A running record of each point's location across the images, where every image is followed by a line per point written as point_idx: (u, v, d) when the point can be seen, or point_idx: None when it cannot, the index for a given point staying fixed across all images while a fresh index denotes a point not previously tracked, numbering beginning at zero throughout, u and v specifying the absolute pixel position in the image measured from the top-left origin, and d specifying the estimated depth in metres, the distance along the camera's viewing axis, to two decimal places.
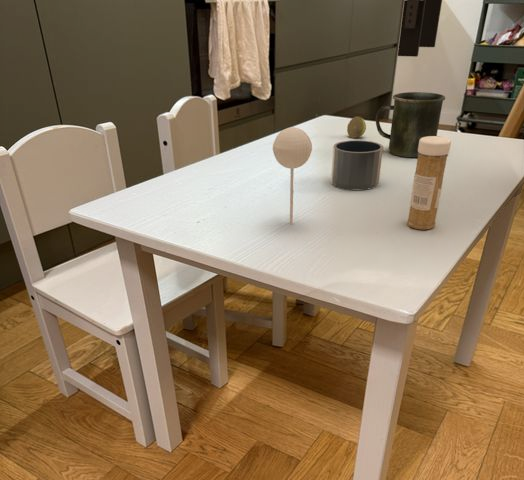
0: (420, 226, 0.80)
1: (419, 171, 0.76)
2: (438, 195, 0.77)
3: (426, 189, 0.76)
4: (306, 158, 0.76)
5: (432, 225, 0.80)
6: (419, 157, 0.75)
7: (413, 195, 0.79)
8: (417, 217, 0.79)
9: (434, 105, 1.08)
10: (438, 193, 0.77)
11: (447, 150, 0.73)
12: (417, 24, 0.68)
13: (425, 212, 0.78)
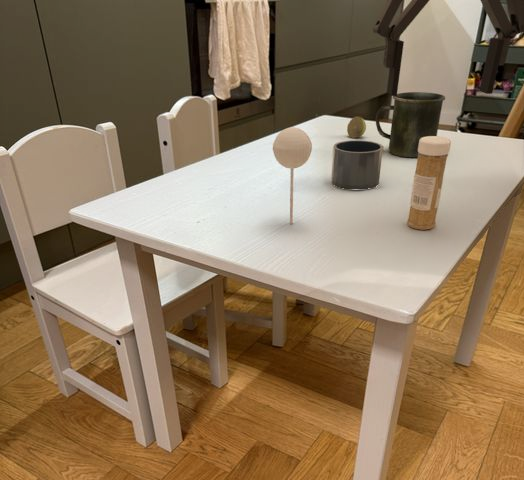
0: (420, 226, 0.80)
1: (419, 171, 0.76)
2: (438, 195, 0.77)
3: (426, 189, 0.76)
4: (306, 158, 0.76)
5: (432, 225, 0.80)
6: (419, 157, 0.75)
7: (413, 195, 0.79)
8: (417, 217, 0.79)
9: (434, 105, 1.08)
10: (438, 193, 0.77)
11: (447, 150, 0.73)
12: (394, 64, 0.68)
13: (425, 212, 0.78)
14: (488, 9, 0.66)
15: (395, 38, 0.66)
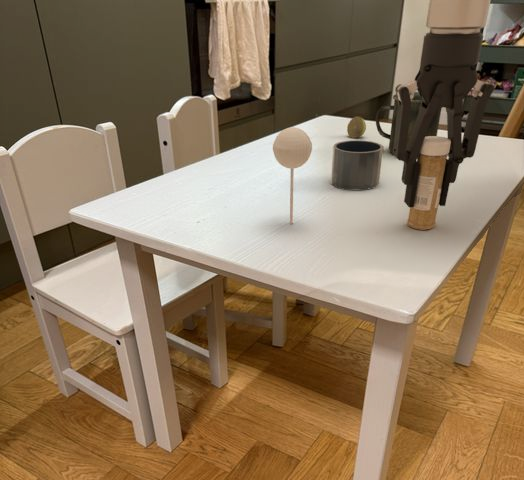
0: (420, 226, 0.80)
1: (419, 171, 0.76)
2: (438, 195, 0.77)
3: (426, 189, 0.76)
4: (306, 158, 0.76)
5: (432, 225, 0.80)
6: (419, 157, 0.75)
7: None
8: (417, 217, 0.79)
9: None
10: (438, 193, 0.77)
11: (447, 150, 0.73)
12: (411, 182, 0.77)
13: (425, 212, 0.78)
14: (450, 130, 0.73)
15: (414, 161, 0.75)
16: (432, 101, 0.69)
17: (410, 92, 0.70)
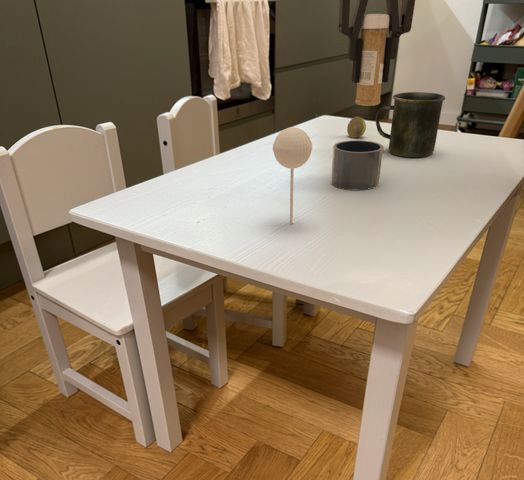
0: (366, 102, 0.88)
1: (363, 47, 0.84)
2: (380, 70, 0.85)
3: (369, 63, 0.84)
4: (306, 158, 0.76)
5: (377, 101, 0.88)
6: (362, 33, 0.83)
7: None
8: (363, 93, 0.87)
9: (434, 105, 1.08)
10: (380, 68, 0.85)
11: (386, 23, 0.81)
12: (356, 57, 0.85)
13: (369, 87, 0.86)
14: (388, 5, 0.81)
15: (357, 35, 0.83)
16: None
17: None
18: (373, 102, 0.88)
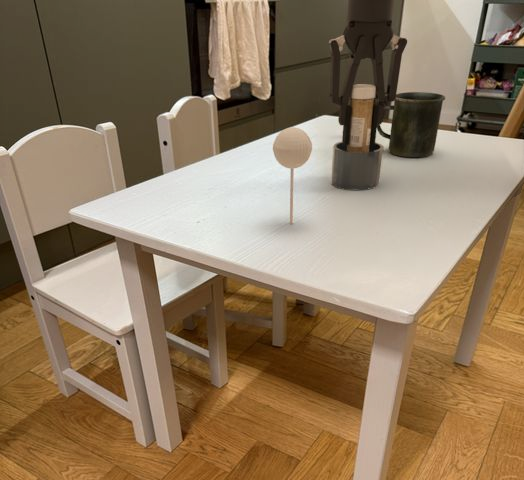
0: None
1: (352, 113, 0.92)
2: (368, 134, 0.93)
3: (357, 128, 0.92)
4: (306, 158, 0.76)
5: None
6: (351, 101, 0.91)
7: None
8: None
9: (434, 105, 1.08)
10: (368, 132, 0.93)
11: (372, 94, 0.89)
12: (345, 123, 0.93)
13: (358, 149, 0.94)
14: (375, 78, 0.89)
15: (346, 104, 0.91)
16: (357, 52, 0.85)
17: (339, 45, 0.86)
18: None
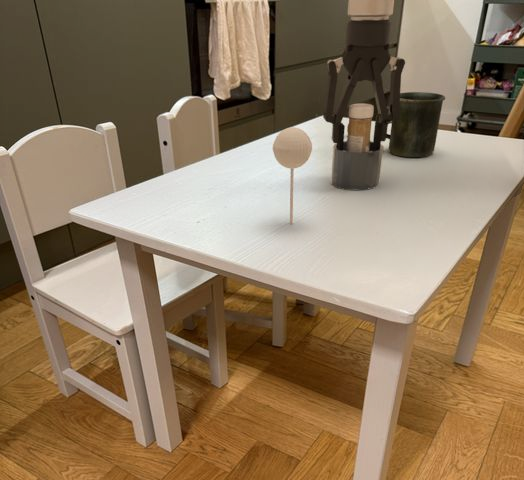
0: None
1: (350, 132, 0.94)
2: None
3: (356, 147, 0.94)
4: (306, 158, 0.76)
5: None
6: (349, 120, 0.93)
7: None
8: None
9: (434, 105, 1.08)
10: (366, 150, 0.95)
11: (370, 114, 0.91)
12: (339, 140, 0.95)
13: None
14: (376, 98, 0.91)
15: (339, 123, 0.92)
16: (354, 74, 0.87)
17: (337, 66, 0.88)
18: None
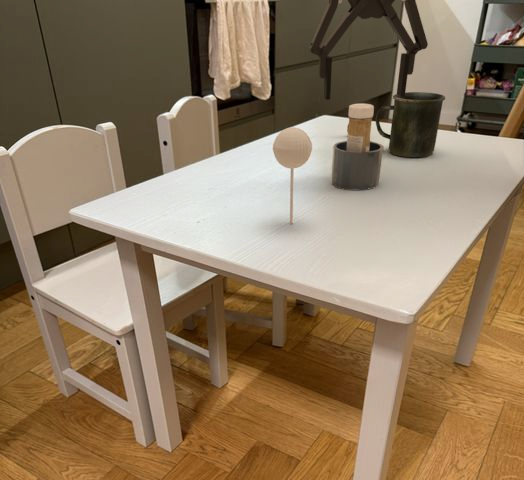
0: None
1: (350, 132, 0.94)
2: None
3: (356, 147, 0.94)
4: (306, 158, 0.76)
5: None
6: (349, 120, 0.93)
7: None
8: None
9: (434, 105, 1.08)
10: (366, 150, 0.95)
11: (370, 114, 0.91)
12: (326, 75, 0.88)
13: None
14: (396, 32, 0.85)
15: (325, 55, 0.86)
16: (356, 7, 0.82)
17: None
18: None
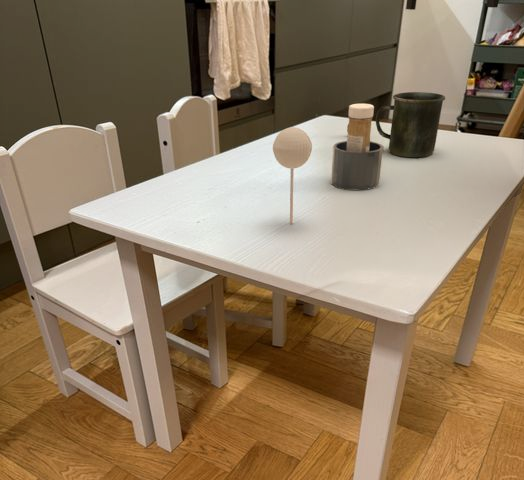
0: None
1: (350, 132, 0.94)
2: None
3: (356, 147, 0.94)
4: (306, 158, 0.76)
5: None
6: (349, 120, 0.93)
7: None
8: None
9: (434, 105, 1.08)
10: (366, 150, 0.95)
11: (370, 114, 0.91)
12: None
13: None
14: None
15: None
16: None
17: None
18: None
